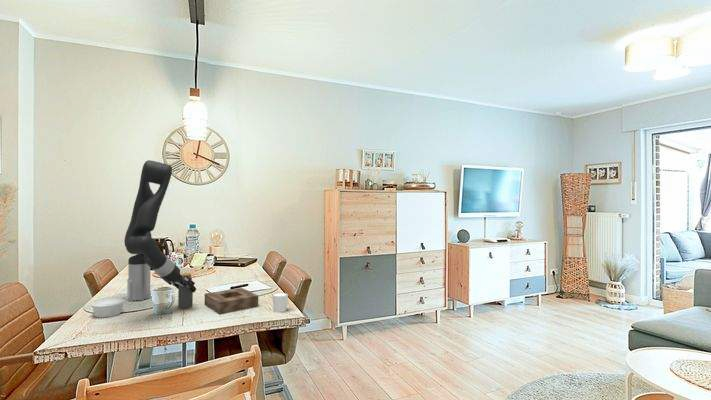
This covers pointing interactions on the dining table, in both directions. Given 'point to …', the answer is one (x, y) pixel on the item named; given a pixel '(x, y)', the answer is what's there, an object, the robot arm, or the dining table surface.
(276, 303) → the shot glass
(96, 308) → the ramekin
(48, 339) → the dining table surface
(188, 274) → the bottle
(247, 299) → the holder block
